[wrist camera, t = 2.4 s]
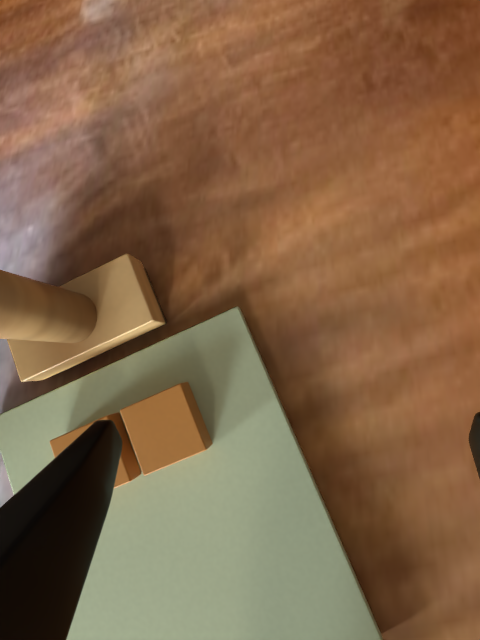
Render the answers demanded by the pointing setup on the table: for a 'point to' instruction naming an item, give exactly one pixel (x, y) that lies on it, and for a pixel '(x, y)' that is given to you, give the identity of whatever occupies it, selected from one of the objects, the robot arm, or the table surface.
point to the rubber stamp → (75, 316)
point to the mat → (202, 506)
